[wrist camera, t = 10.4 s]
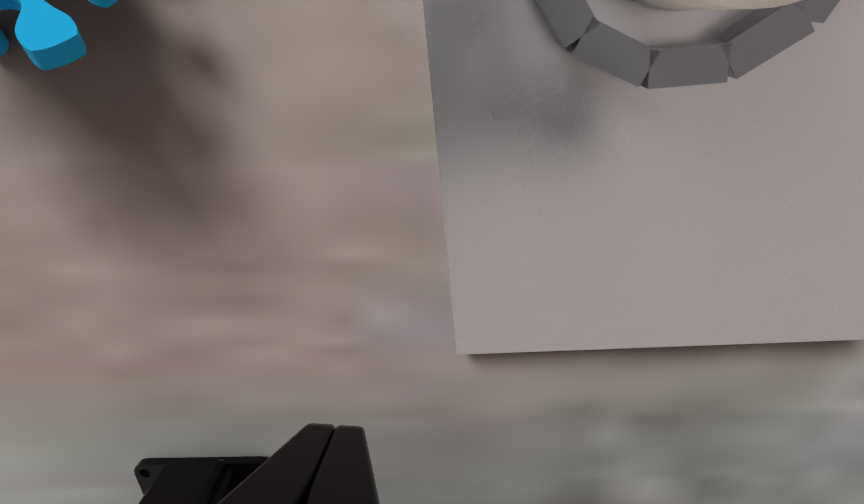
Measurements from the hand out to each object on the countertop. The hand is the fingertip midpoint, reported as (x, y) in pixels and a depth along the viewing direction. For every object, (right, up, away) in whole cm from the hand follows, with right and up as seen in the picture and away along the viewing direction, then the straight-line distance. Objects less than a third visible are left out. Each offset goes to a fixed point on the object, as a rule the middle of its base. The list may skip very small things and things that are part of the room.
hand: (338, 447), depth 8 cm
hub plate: (+8, +8, +9) cm, 15 cm away
